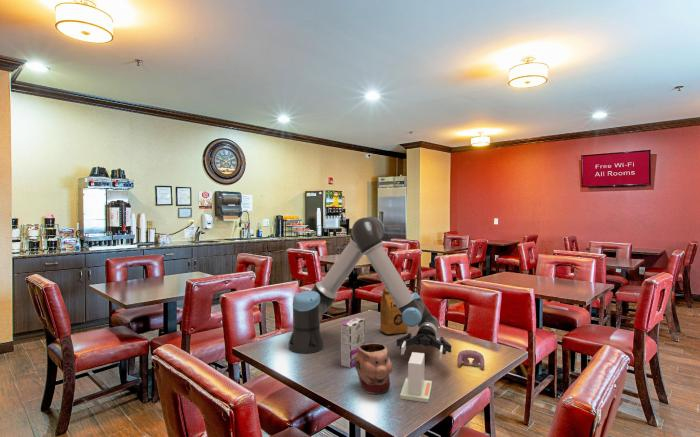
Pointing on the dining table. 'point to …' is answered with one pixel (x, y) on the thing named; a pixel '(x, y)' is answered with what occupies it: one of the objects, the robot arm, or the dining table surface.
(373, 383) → the decorative planter
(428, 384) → the board
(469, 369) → the dining table surface
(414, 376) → the block
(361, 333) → the candy bar box
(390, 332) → the coffee package
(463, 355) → the video game controller
